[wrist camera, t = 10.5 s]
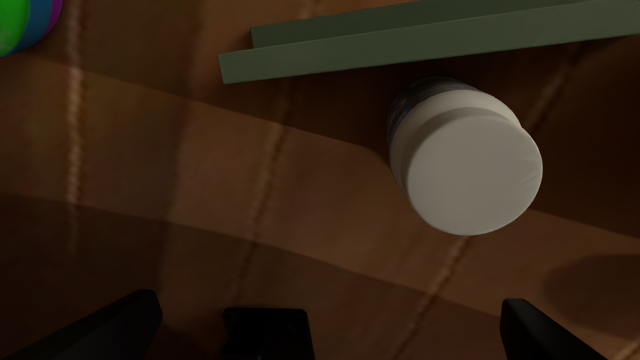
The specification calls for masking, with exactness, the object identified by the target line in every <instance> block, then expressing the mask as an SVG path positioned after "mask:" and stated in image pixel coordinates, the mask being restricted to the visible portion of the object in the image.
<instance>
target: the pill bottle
mask: <svg viewBox="0 0 640 360" xmlns="http://www.w3.org/2000/svg"><path fill="white" fill-rule="evenodd" d="M387 140H388V152H389V160H390V167H391V171H392V174H393V176H394V179H395V181H396V183H397V185H398V186H399V188H400V189H401V190H402V192H403V193H404V194H405V195H406V196H407V199H408V202H409V204H410V205H411V207H412V209H413V210H414V211H415V213H416V214H417V215H418V216H419V217H420V218H421V219H422V220H423V221H424V222H425V223H427V224H428V225H430V226H432V227H434V228H436V229H438V230H441V231H443V232H446V233H450V234H456V235H478V234H483V233H487V232H491V231H494V230H496V229H499V228H501V227H503V226H505V225H507V224H509V223H510V222H512V221H513V220H515V219H516V218H517V217H519V216H520V215H521V214H522V213H523V212H524V211H525V210H526V209H527V208H528V206H529V205H530V204H531V203H532V201H533V199H534V198H535V196H536V194H537V192H538V189H539V186H540V183H541V179H542V171H543V169H542V158H541V155H540V152H539V149H538V147H537V145H536V143H535V142H534V140H533V139H532V137H531V136H530V135H529V134H528V133H527V132H526V131H525V130H524V129H523V128H522V127H521V125H520V123H519V121H518V119H517V118H516V116H515V115H514V113H513V112H512V111H511V110H510V109H509V108H508V107H507V106H506V105H505V104H504V103H502V102H501V101H500V100H498V99H496V98H495V97H493V96H491V95H489V94H487V93H484V92H482V91H480V90H478V89H476V88H474V87H472V86H470V85H468V84H465V83H463V82H460V81H458V80H456V79H453V78H449V77H444V76H432V77H426V78H422V79H419V80H417V81H415V82H413V83H411V84H410V85H408V86H407V87H405V88H404V89H403V90H402V91H401V92H400V93H399V94H398V95H397V97H396V98H395V99H394V101H393V103H392V104H391V106H390V109H389V112H388V116H387Z"/></svg>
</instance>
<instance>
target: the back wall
mask: <svg viewBox="0 0 640 360" xmlns="http://www.w3.org/2000/svg"><path fill="white" fill-rule="evenodd" d="M250 31H251V36H252V42H253V47H254V49H249V50H242V51H235V52H228V53H221V54H217V58H218V62H219V67H220V71H221V76H222V80H223V84H224V85H226V84H234V83H243V82H251V81H259V80H267V79H275V78H284V77H292V76H300V75H308V74H316V73H325V72H333V71H341V70H349V69H357V68H366V67H374V66H382V65H390V64H398V63H407V62H415V61H423V60H431V59H440V58H448V57H456V56H464V55H472V54H481V53H489V52H497V51H505V50H513V49H522V48H530V47H538V46H546V45H554V44H563V43H571V42H579V41H587V40H595V39H604V38H612V37H620V36H628V35H636V34H640V0H421V1H415V2H408V3H402V4H396V5H389V6H383V7H376V8H370V9H364V10H357V11H351V12H344V13H338V14H332V15H325V16H319V17H312V18H306V19H300V20H293V21H287V22H280V23H274V24H268V25H261V26H255V27H250Z"/></svg>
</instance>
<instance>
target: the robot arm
mask: <svg viewBox="0 0 640 360" xmlns="http://www.w3.org/2000/svg"><path fill="white" fill-rule="evenodd" d="M162 316H163V315H162V310H161V307H160V304H159V301H158V298H157V295H156V293H155V291H154V290H151V289H139V290H136V291H134V292H132V293H130V294H128V295H126V296H124V297H123V298H121V299H119V300H117V301H115V302H113V303H111V304H109V305H107V306H105V307H103V308H101V309H99V310H97V311H95V312H93V313H91V314H90V315H88V316H86V317H84V318H82V319H80V320H78V321H76V322H74V323H72V324H70V325H68V326H66V327H64V328H62V329H60V330H58V331H57V332H55V333H53V334H51V335H49V336H47V337H45V338H43V339H41V340H39V341H37V342H35V343H33V344H31V345H29V346H27V347H25V348H24V349H22V350H20V351H18V352H16V353H14V354H12V355H10V356H8V357H6V358H4V359H2V360H143V358H144V356H145V354H146V352H147V350H148V348H149V346H150V344H151V342H152V340H153V338H154V336H155V334H156V332H157V330H158V328H159V325H160V323H161V321H162ZM298 316H301V317H298ZM222 319H223V322H224V326H225V329H226V333H227V336H228V339H227V341H226V343H225V345H224V346H223V348H222V350H221V352H220V354H219V359H218V360H315V357H314V351H313V345H312V340H311V334H310V328H309V322H308V317H307V313H306V312H305V311H304V310H301V309H262V308H226V309H225V310H224V312H223V313H222ZM500 334H501V338H502V342H503V345H504V349H505V352H506V355H507V359H508V360H608V359H606V358H605V357H604V356H602V355H601V354H600V353H598V352H597V351H595V350H594V349H593V348H591V347H590V346H588V345H587V344H586V343H584V342H583V341H582V340H580V339H579V338H577V337H576V336H575V335H573V334H572V333H571V332H569V331H568V330H566V329H565V328H564V327H562V326H561V325H559V324H558V323H557V322H555V321H554V320H553V319H551V318H550V317H548V316H547V315H546V314H544V313H543V312H542V311H540V310H539V309H537V308H536V307H535V306H533V305H532V304H530V303H529V302H528V301H526V300H524V299H519V298H506V299H504V300H503V303H502V311H501V320H500Z"/></svg>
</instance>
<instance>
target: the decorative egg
mask: <svg viewBox="0 0 640 360" xmlns="http://www.w3.org/2000/svg"><path fill="white" fill-rule="evenodd" d="M62 4H63V0H0V57H4V56H8V55H12V54H15V53H18V52H20V51H23V50H25V49H27V48H29V47H31V46H33V45H35V44H36V43H38V42H39V41H41V40H42V39H43V38H44V37H45V36H46V35H47V34H48V33H49V32H50V31H51V30H52V28H53V27H54V26H55V24H56V22H57V20H58V19H59V16H60V13H61V9H62Z"/></svg>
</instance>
